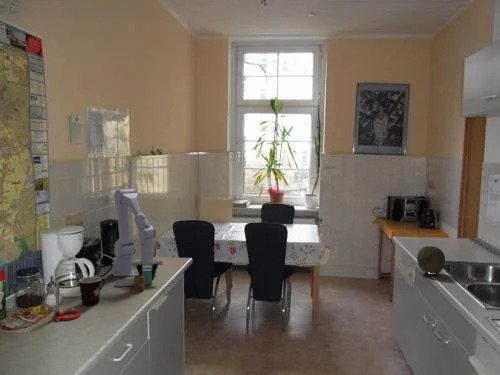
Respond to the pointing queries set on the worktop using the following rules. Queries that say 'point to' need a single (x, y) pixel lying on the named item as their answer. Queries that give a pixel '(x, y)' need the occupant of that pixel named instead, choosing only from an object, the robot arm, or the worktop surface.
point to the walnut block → (139, 282)
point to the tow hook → (58, 314)
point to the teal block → (147, 275)
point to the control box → (147, 268)
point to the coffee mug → (90, 290)
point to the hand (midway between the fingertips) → (147, 280)
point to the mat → (124, 283)
